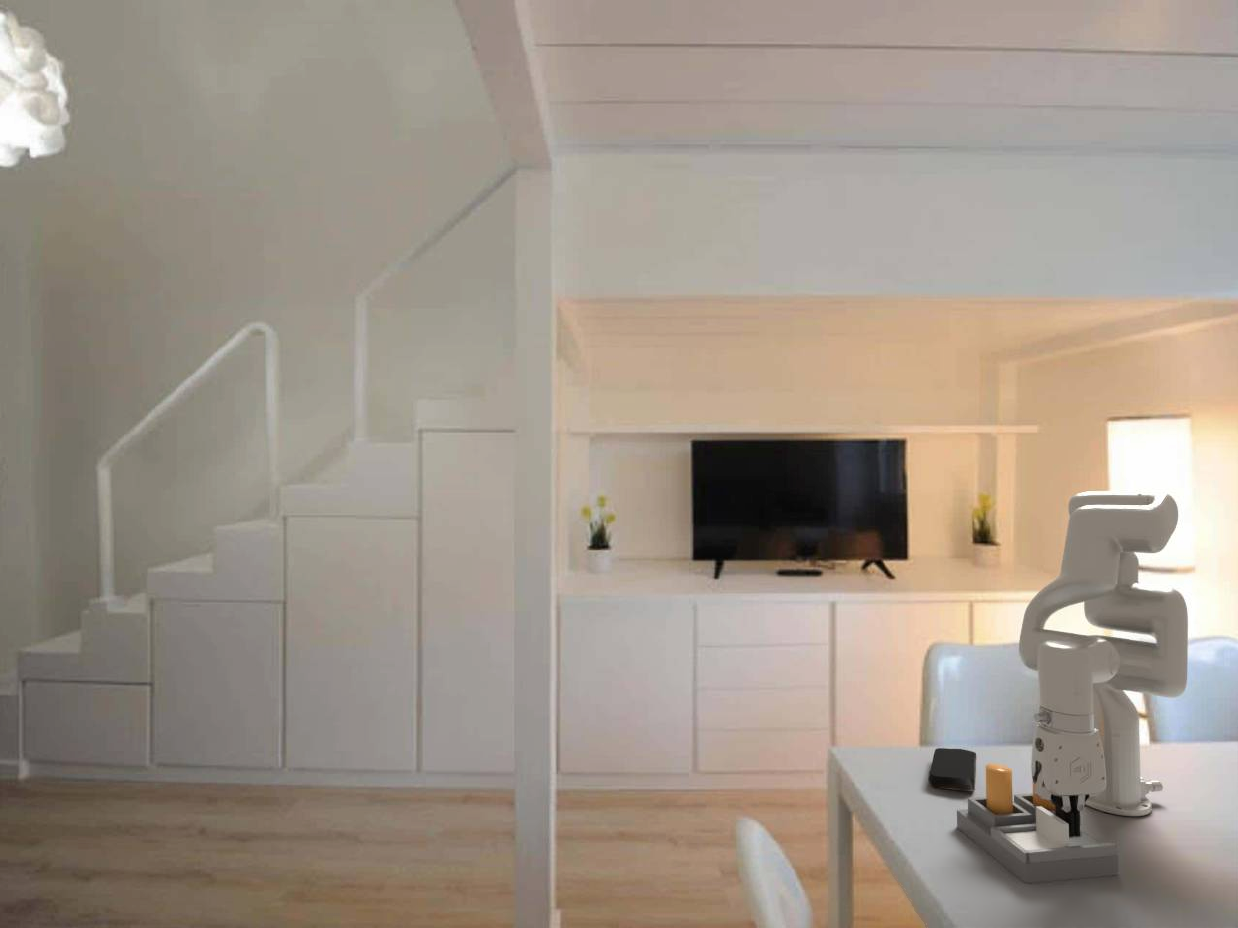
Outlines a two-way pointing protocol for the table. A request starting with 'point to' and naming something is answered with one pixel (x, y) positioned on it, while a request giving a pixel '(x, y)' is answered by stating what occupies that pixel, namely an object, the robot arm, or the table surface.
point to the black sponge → (953, 769)
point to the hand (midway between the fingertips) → (1067, 832)
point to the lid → (1043, 832)
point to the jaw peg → (999, 789)
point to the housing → (1039, 863)
